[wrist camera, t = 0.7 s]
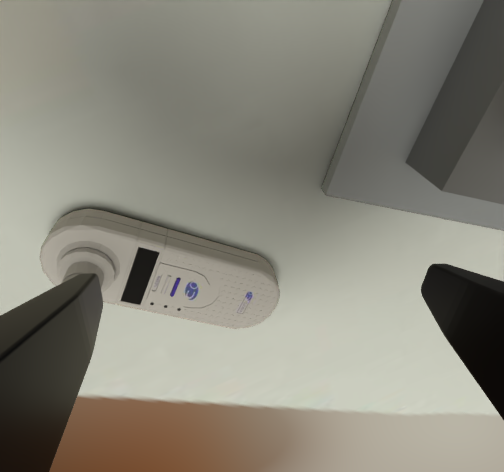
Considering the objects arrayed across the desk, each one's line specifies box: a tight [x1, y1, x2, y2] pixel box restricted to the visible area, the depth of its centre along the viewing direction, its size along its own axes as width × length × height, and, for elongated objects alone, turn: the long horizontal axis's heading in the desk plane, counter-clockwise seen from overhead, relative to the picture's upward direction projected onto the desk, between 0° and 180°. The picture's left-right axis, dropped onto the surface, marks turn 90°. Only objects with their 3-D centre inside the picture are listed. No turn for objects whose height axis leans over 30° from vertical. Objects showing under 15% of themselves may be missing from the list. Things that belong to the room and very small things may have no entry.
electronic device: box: [40, 208, 280, 329], centre depth 22 cm, size 5×10×15 cm
